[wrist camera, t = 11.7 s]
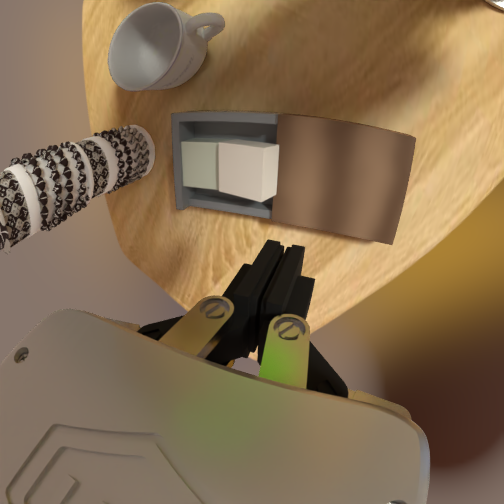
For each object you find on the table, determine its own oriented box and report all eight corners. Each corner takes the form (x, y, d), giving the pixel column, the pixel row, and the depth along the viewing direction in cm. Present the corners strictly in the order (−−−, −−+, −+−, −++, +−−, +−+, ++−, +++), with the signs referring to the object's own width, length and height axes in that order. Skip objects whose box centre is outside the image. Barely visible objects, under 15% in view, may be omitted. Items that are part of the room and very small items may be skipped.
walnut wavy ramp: (409, 135, 24) (416, 138, 21) (389, 233, 30) (392, 245, 28) (284, 113, 27) (277, 114, 25) (277, 211, 34) (271, 220, 31)
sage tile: (235, 139, 30) (224, 143, 28) (234, 183, 33) (224, 190, 31) (194, 137, 32) (181, 141, 29) (195, 179, 35) (183, 186, 32)
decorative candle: (137, 109, 32) (-31, 159, 12) (168, 160, 35) (4, 247, 15) (105, 144, 37) (-33, 206, 17) (132, 190, 40) (-1, 275, 20)
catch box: (284, 113, 27) (275, 114, 24) (277, 211, 34) (269, 224, 31) (189, 111, 31) (171, 113, 27) (192, 198, 37) (176, 209, 34)
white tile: (279, 144, 27) (263, 148, 24) (276, 194, 29) (261, 202, 27) (236, 139, 29) (218, 142, 27) (235, 184, 32) (219, 191, 30)
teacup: (147, 94, 31) (105, 98, 24) (148, 25, 25) (106, 18, 19) (243, 84, 27) (211, 80, 21) (244, 4, 22) (213, -18, 15)
